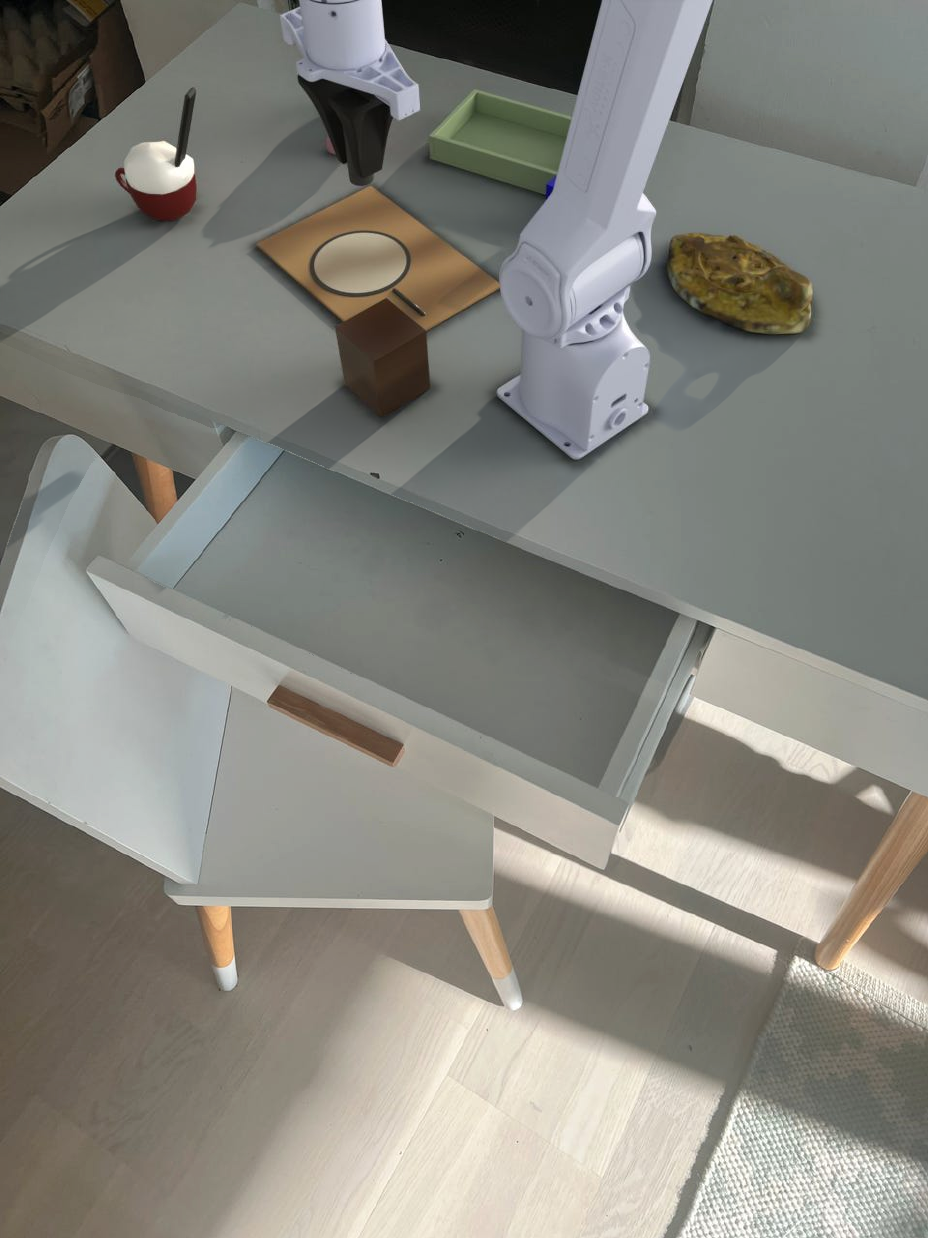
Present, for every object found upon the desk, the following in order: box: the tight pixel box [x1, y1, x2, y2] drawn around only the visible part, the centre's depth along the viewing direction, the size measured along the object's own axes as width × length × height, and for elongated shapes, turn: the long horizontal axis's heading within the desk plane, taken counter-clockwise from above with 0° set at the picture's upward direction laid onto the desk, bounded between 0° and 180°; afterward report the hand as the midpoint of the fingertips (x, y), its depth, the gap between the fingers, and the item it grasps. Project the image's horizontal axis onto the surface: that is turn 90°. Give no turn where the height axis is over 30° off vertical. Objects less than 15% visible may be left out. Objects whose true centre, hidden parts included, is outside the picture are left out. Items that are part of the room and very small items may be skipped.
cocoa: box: [114, 86, 197, 222], centre depth 89 cm, size 10×6×12 cm, turn 53°
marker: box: [342, 126, 375, 187], centre depth 79 cm, size 2×2×6 cm
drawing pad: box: [256, 185, 500, 332], centre depth 89 cm, size 19×13×1 cm
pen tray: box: [428, 88, 572, 196], centre depth 96 cm, size 15×9×2 cm, turn 61°
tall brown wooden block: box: [334, 298, 431, 418], centre depth 78 cm, size 5×5×6 cm
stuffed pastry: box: [666, 232, 814, 335], centre depth 84 cm, size 9×5×15 cm
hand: (360, 164), depth 80 cm, fingers closed on marker, 2 cm apart
